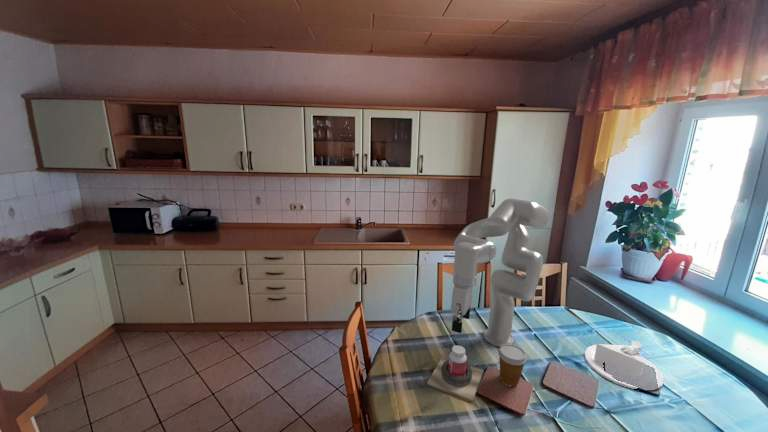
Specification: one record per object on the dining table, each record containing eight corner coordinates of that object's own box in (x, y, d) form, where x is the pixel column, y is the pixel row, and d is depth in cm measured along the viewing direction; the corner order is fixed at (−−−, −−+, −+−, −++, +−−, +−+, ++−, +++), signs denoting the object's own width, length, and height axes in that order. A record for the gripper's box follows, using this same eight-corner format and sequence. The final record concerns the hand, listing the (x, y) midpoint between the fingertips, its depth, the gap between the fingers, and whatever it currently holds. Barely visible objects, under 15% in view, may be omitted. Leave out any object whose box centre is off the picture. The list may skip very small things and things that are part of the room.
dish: (651, 357, 131) (657, 333, 128) (673, 401, 109) (681, 373, 106) (581, 340, 141) (585, 317, 138) (589, 378, 119) (594, 351, 116)
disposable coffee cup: (510, 393, 111) (514, 363, 108) (489, 375, 119) (492, 347, 116) (529, 384, 115) (533, 355, 112) (508, 368, 123) (511, 340, 120)
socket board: (442, 358, 128) (442, 349, 127) (483, 372, 120) (484, 363, 119) (427, 384, 114) (427, 374, 113) (472, 402, 107) (473, 392, 106)
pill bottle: (468, 377, 116) (471, 351, 114) (456, 384, 113) (458, 357, 110) (456, 367, 121) (458, 341, 119) (444, 373, 118) (446, 347, 116)
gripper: (460, 268, 117) (457, 310, 121) (445, 286, 102) (442, 334, 106) (481, 272, 113) (477, 315, 118) (468, 292, 99) (464, 341, 103)
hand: (460, 324), depth 112 cm, fingers open, 9 cm apart
